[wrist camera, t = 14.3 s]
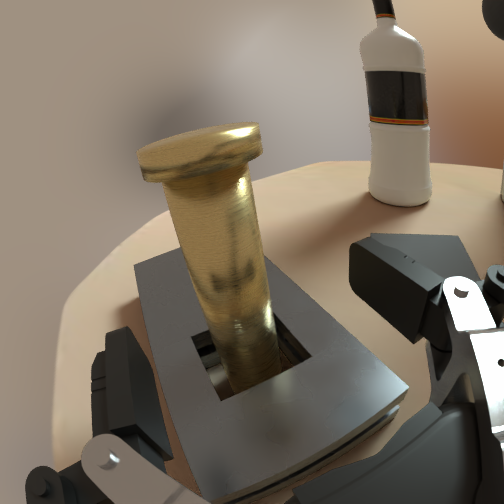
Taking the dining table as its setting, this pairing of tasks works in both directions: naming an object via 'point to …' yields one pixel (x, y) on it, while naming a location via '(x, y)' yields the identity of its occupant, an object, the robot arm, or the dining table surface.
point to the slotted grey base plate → (262, 388)
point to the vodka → (396, 112)
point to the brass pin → (221, 241)
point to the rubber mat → (433, 253)
